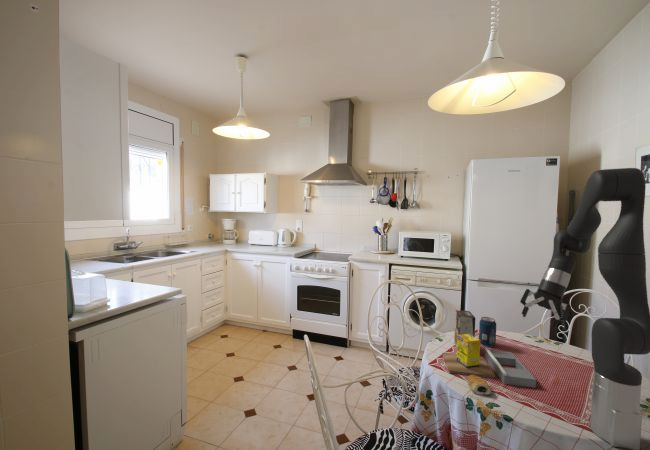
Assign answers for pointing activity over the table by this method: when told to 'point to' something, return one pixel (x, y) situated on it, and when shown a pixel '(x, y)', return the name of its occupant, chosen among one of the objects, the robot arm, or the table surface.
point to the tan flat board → (461, 369)
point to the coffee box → (464, 324)
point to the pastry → (478, 385)
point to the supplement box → (468, 350)
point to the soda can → (487, 331)
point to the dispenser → (509, 375)
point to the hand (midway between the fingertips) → (537, 322)
